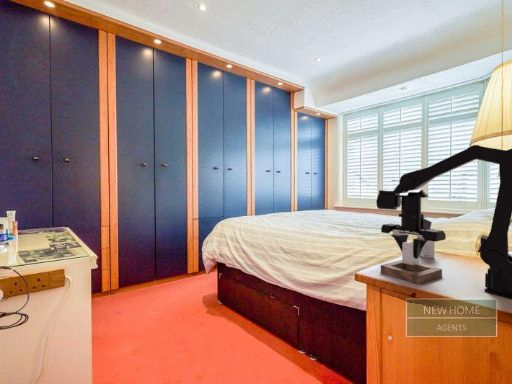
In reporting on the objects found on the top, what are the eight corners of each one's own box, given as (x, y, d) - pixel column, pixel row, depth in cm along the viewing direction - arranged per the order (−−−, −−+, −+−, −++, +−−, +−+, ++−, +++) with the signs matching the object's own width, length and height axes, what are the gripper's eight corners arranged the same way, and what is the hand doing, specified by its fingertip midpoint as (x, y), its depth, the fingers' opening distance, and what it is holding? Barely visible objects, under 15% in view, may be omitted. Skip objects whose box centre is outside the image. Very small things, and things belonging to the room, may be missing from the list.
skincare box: (434, 258, 109) (435, 228, 109) (423, 257, 110) (423, 228, 110) (428, 254, 115) (428, 226, 115) (417, 253, 116) (417, 226, 116)
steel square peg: (419, 263, 90) (419, 242, 90) (412, 265, 88) (413, 244, 88) (408, 261, 93) (408, 240, 93) (402, 262, 92) (402, 242, 91)
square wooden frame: (441, 276, 88) (442, 269, 88) (418, 284, 82) (418, 276, 82) (403, 266, 100) (403, 259, 100) (380, 272, 94) (380, 265, 94)
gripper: (455, 211, 86) (454, 260, 87) (399, 207, 102) (399, 248, 103) (435, 214, 81) (435, 266, 81) (380, 209, 97) (380, 252, 97)
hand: (410, 257), depth 91 cm, fingers closed on steel square peg, 4 cm apart
